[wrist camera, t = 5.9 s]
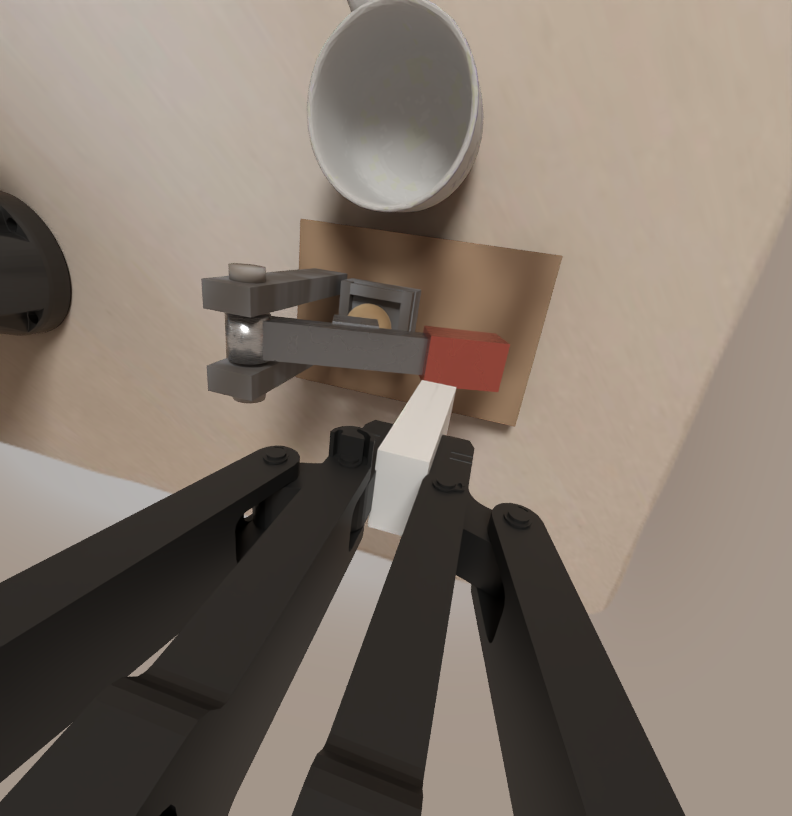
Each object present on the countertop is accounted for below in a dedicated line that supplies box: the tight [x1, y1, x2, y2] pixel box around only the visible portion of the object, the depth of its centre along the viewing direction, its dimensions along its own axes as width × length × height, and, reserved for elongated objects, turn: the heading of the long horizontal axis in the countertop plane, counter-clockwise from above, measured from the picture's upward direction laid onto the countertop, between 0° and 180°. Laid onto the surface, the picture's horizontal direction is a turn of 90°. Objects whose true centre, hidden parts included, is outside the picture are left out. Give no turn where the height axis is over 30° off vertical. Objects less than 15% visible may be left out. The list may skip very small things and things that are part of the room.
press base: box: [201, 219, 562, 427], centre depth 29 cm, size 21×14×16 cm, turn 82°
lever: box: [225, 313, 510, 392], centre depth 26 cm, size 17×3×5 cm, turn 82°
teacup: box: [307, 0, 484, 212], centre depth 27 cm, size 14×11×8 cm
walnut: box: [348, 304, 391, 329], centre depth 31 cm, size 4×4×4 cm
